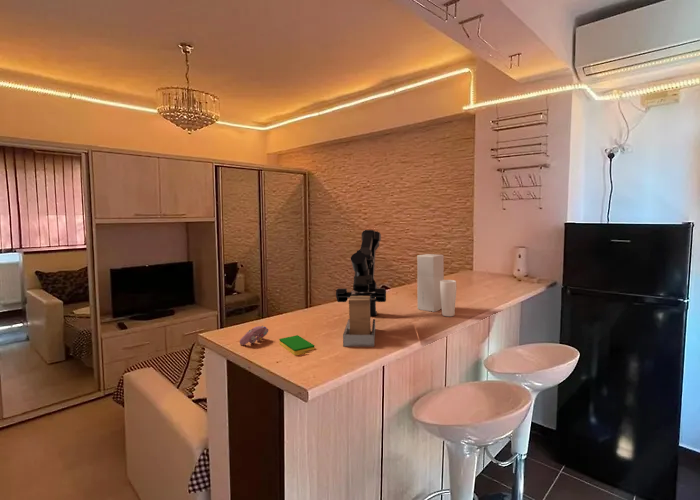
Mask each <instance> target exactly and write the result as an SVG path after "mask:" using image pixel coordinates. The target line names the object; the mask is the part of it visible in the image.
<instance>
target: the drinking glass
mask: <svg viewBox="0 0 700 500" xmlns="http://www.w3.org/2000/svg"><path fill="white" fill-rule="evenodd" d="M440 295H441V306H442V309H441V315H442V316H443V317H449V318H450V317H454V316H455V315H456V314H455V312H456V309H455V308H456V300H457V280H454V279H444V280H441V281H440Z"/></svg>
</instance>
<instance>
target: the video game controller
mask: <svg viewBox="0 0 700 500" xmlns="http://www.w3.org/2000/svg"><path fill="white" fill-rule="evenodd" d="M268 333H269V329H268V327H266V326H265V325H261V326H260V325H258V326H254V327H253V328H251V329H249V330H248V331H247V332H245V334H244V335H243V336H242V337H241V338H240V340H239V344H240V345H241V344H242V345H241V346H245V345H246V344H248V343H250V345H253V344H252V343H254V344H255V343H256V342H258V341H259V342H261V341H262V340H263V338H264V337H266V335H267V334H268Z"/></svg>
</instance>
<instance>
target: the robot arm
mask: <svg viewBox="0 0 700 500" xmlns="http://www.w3.org/2000/svg"><path fill="white" fill-rule="evenodd" d="M381 241H382V234H381V232H380V231H377V230H375V229H365V230H362V232H361V244H360V248H359V249H357V250H356V252H355V253H353V254H352V255H351V256H350V262H351V265H352V269H353V271H354V276H353V284H352V285H353V286H352V290H351V291H348V289H347V288H337V289H336V290H335V297H336V302H338V303H346V302H348V300H349V299H350V296H370V317H375V316H377V314H378V312H377V307H376V305H377V303H385V302H387V290H386V288H385V287H378V285H377V282H376V281H375V269H376V268H375V266H376V251H377V249H378V248H379V247H380V242H381Z"/></svg>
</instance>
